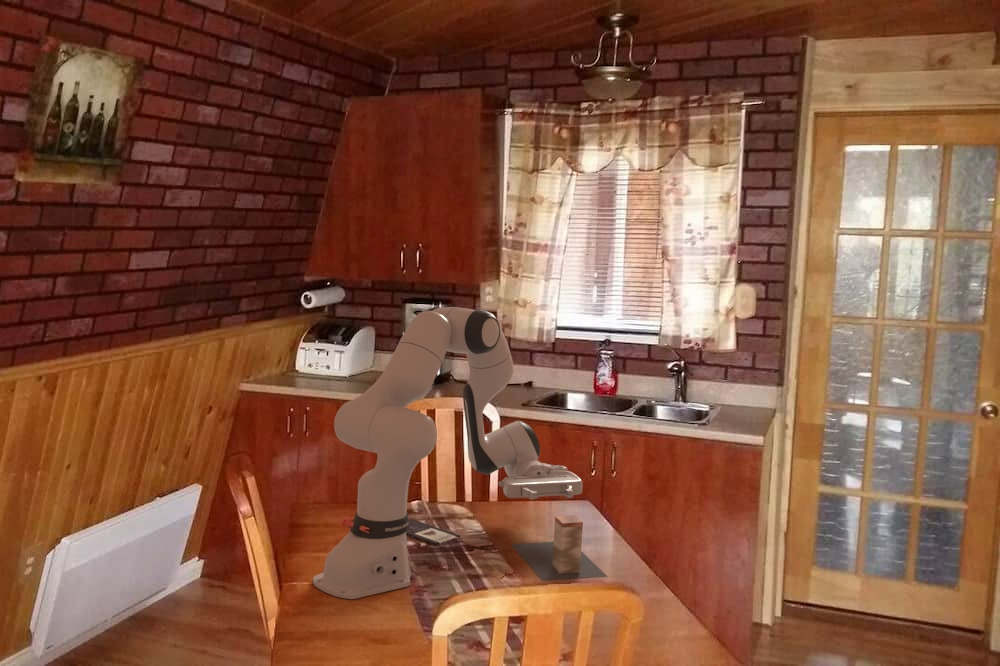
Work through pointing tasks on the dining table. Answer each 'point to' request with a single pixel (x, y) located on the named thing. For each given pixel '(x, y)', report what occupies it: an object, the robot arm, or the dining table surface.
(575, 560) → the ash block
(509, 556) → the dining table surface
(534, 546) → the rubber mat
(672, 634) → the dining table surface
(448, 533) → the chocolate bar
